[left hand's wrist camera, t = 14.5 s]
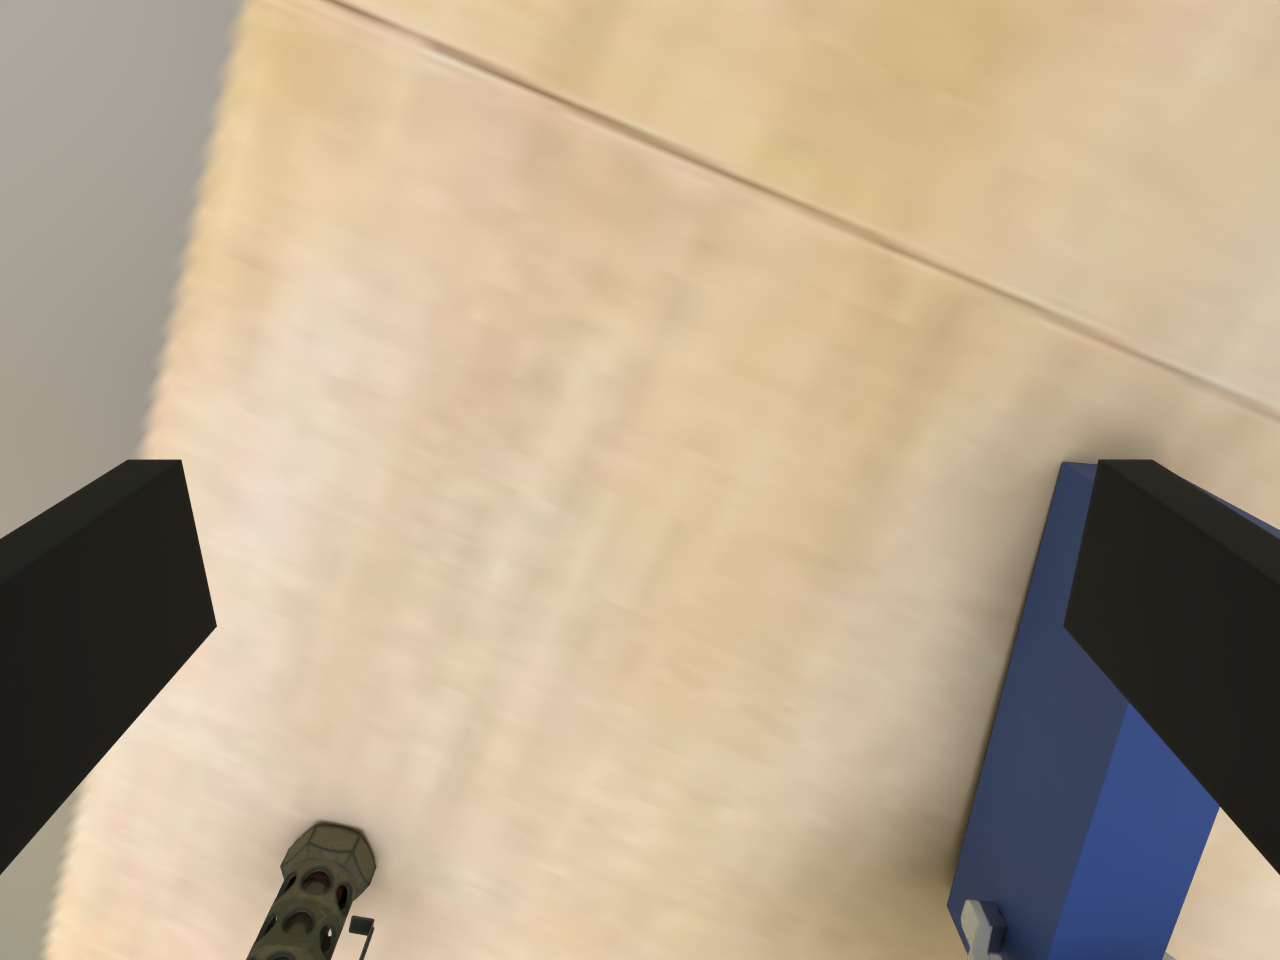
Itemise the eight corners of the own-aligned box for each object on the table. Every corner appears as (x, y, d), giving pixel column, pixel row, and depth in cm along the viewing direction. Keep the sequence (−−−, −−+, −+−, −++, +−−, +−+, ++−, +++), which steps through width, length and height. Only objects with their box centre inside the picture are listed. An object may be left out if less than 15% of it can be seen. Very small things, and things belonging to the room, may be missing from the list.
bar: (1061, 461, 40) (1180, 538, 32) (1168, 470, 41) (1317, 549, 32) (946, 905, 49) (1013, 1063, 40) (1034, 911, 50) (1121, 1069, 41)
